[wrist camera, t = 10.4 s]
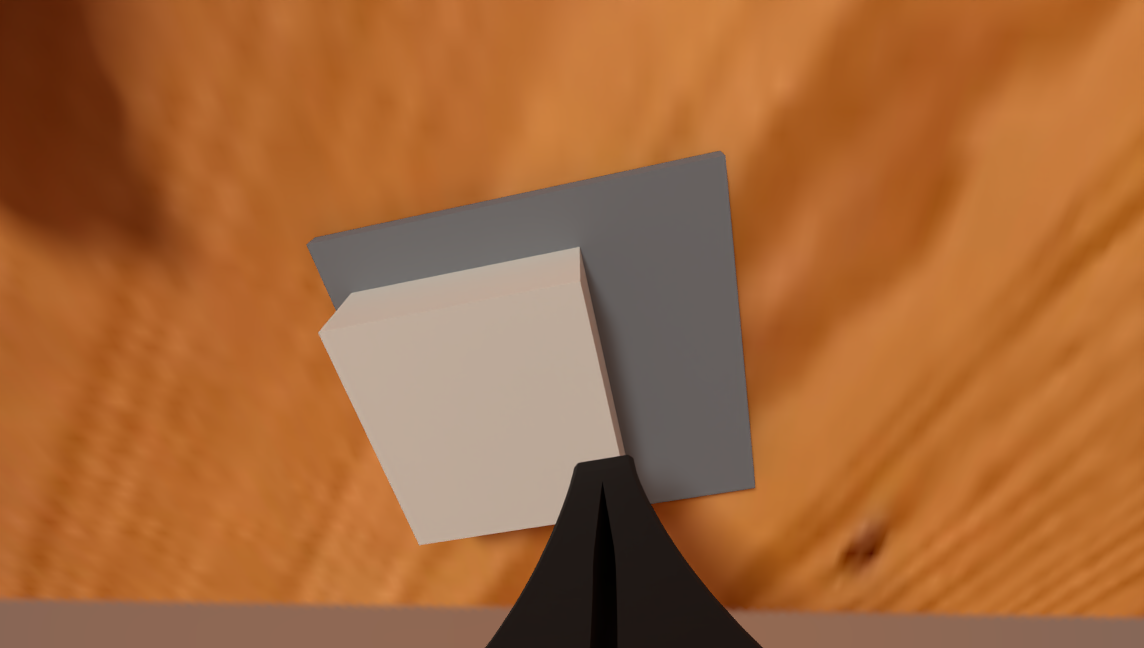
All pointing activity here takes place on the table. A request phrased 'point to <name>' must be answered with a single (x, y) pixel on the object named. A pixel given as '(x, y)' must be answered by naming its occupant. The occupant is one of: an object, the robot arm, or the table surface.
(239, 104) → the table surface
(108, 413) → the table surface
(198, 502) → the table surface
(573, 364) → the block
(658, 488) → the mat
